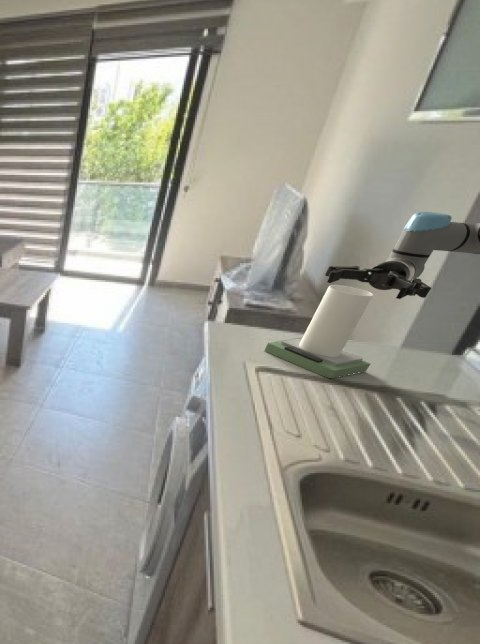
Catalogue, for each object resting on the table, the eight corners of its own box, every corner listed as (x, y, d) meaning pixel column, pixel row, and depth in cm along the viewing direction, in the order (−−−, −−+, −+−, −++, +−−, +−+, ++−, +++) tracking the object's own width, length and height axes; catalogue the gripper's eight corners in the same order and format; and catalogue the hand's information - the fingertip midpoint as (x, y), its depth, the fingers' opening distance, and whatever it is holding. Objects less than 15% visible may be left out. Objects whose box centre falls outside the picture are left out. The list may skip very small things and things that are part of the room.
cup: (336, 348, 124) (369, 289, 116) (342, 360, 118) (377, 298, 110) (297, 340, 128) (326, 282, 120) (301, 351, 121) (332, 290, 114)
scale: (365, 371, 120) (372, 360, 118) (330, 379, 115) (336, 367, 114) (298, 345, 133) (303, 334, 131) (264, 350, 128) (269, 340, 127)
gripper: (446, 301, 123) (424, 315, 113) (327, 275, 141) (299, 285, 131) (464, 273, 120) (443, 285, 109) (340, 250, 138) (311, 258, 127)
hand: (364, 285), depth 120 cm, fingers open, 13 cm apart
